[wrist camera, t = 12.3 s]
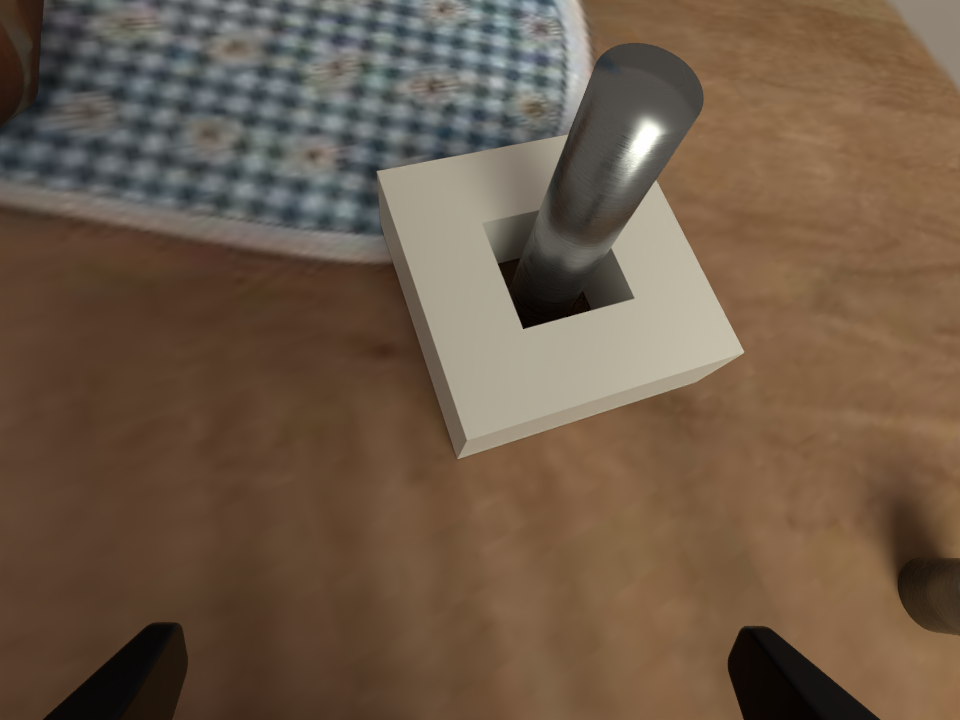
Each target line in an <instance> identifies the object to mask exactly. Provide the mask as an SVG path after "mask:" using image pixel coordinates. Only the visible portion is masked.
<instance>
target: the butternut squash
mask: <svg viewBox="0 0 960 720" xmlns="http://www.w3.org/2000/svg"><path fill="white" fill-rule="evenodd" d="M43 6H44V0H0V128H1V127H2V126H3V125H5V124H6V123H7V122H9V121H10V120H12V119H13V118H14V117H16V116H17V115H18V114H20V113H21V112H22V111H24V110H25V109H26V108H28V107H29V106H30V105H31V104H32V103H33V102H34V101H35V99H36V96H37V93H38V75H39V58H40V40H41V28H42V21H43Z"/></svg>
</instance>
